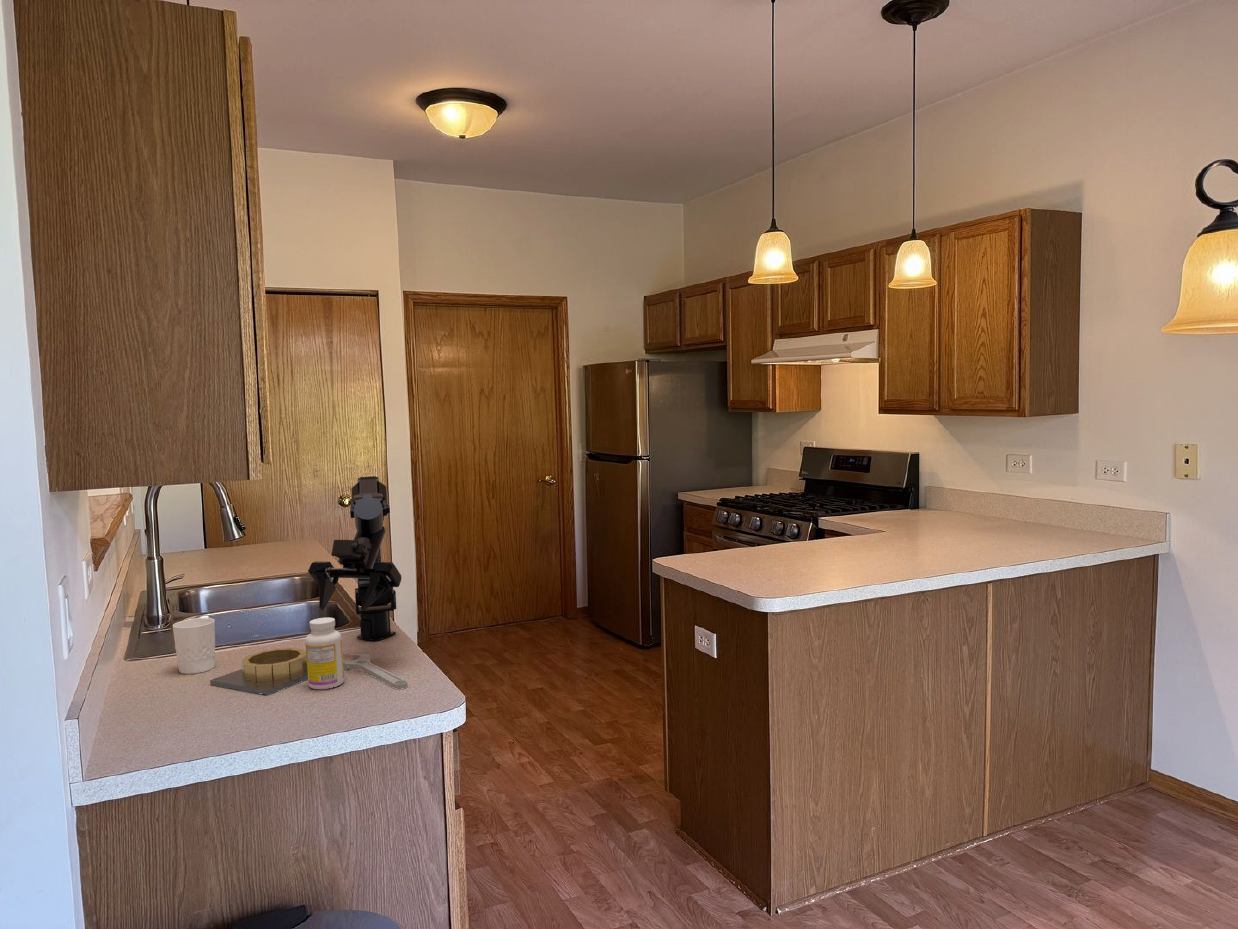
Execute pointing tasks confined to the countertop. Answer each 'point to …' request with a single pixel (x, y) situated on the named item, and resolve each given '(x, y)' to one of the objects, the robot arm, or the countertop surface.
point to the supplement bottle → (324, 655)
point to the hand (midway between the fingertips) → (341, 609)
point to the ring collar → (267, 671)
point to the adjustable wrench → (374, 670)
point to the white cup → (195, 645)
